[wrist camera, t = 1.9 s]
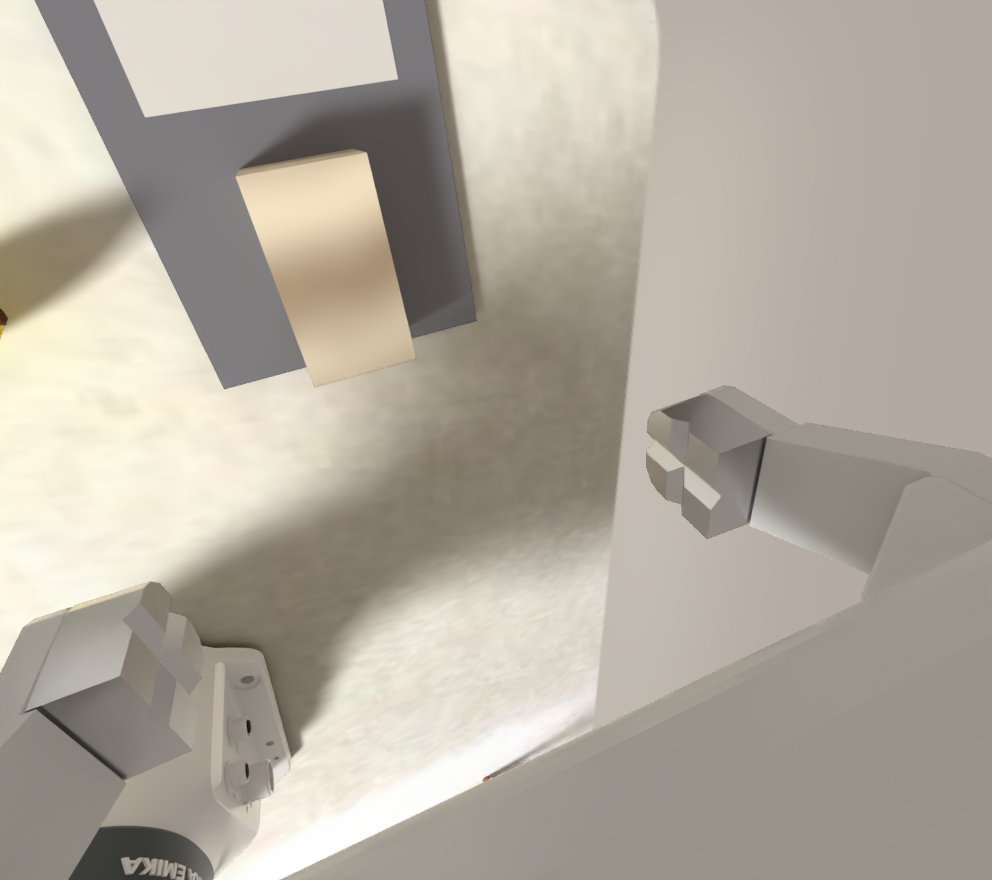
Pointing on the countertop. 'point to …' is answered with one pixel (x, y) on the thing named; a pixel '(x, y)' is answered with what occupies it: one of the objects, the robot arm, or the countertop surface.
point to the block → (330, 262)
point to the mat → (268, 145)
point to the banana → (2, 321)
